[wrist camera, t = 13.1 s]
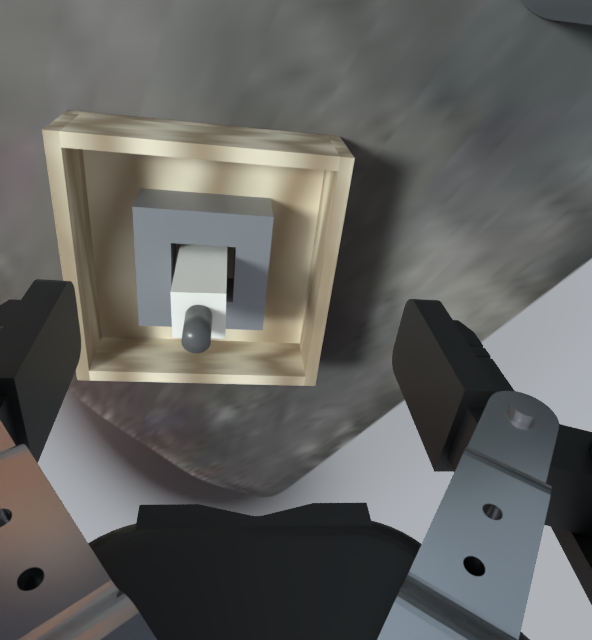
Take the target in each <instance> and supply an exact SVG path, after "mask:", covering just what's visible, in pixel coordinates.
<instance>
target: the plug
mask: <svg viewBox="0 0 592 640" xmlns="http://www.w3.org/2000/svg"><path fill="white" fill-rule="evenodd" d="M226 287H227V247H224V246H208V245H192V244H180V248H179V253H178V257H177V262H176V267H175V272H174V277H173V282H172V287H171V291H170V295H171V318H172V338H182V339H181V343H182V346H183V348H184V349H185V350H187V351H188V352H191V353H202V352H205V351H206V350H207V349H208V348H209V347H210V344H211V338H218V339H225V329H226Z"/></svg>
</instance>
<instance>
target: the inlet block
mask: <svg viewBox="0 0 592 640" xmlns="http://www.w3.org/2000/svg"><path fill="white" fill-rule="evenodd" d="M132 211H133V229H134V247H135V265H136V283H137V301H138V319H139V326H165V327H172V318H171V295H170V291H171V287H172V282H173V277H174V272H175V267H176V244H192V245H208V246H224V247H235V251H234V269H233V278H227V287H226V329H240V330H263V322H264V312H265V302H266V291H267V281H268V271H269V260H270V250H271V240H272V230H273V219H274V216H273V210H272V204H271V198H262V197H249V196H236V195H223V194H210V193H197V192H184V191H171V190H158V189H145V188H141V189H140V191H139V193H138V195H137V198H136V200H135V202H134V204H133V206H132Z"/></svg>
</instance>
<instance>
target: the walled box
mask: <svg viewBox="0 0 592 640" xmlns="http://www.w3.org/2000/svg"><path fill="white" fill-rule="evenodd" d="M42 133H43V140H44V147H45V154H46V161H47V168H48V175H49V183H50V190H51V197H52V204H53V211H54V218H55V225H56V232H57V239H58V246H59V253H60V261H61V268H62V275H63V281H71V282H72V283H73V285H74V288H75V295H76V302H77V310H78V318H79V326H80V333H81V354H80V359H79V363H78V366H77V368H76V374H77V380H93V381H135V382H176V383H217V384H259V385H300V386H315V384H316V378H317V372H318V367H319V361H320V355H321V349H322V344H323V338H324V332H325V326H326V321H327V315H328V309H329V303H330V298H331V292H332V286H333V280H334V275H335V269H336V263H337V257H338V252H339V246H340V240H341V234H342V229H343V223H344V217H345V211H346V206H347V200H348V194H349V189H350V183H351V177H352V171H353V166H354V160H355V158H354V156H353V155H352V153H351V152H350V151H349V149H348V148H347V146H346V145H345V143H344V142H343V141H342V139H341V138H340V136H330V135H320V134H309V133H299V132H289V131H278V130H268V129H258V128H247V127H237V126H227V125H216V124H206V123H196V122H185V121H175V120H165V119H154V118H144V117H134V116H123V115H113V114H103V113H92V112H82V111H72V110H67V111H66V112H65V113H63V114H62V115H61V116H59V117H58V118H57V119H56V120H54V121H53V122H52V123H50V124H49V125H48V126H46V127H45V128H44V129H42ZM141 188H145V189H158V190H171V191H184V192H197V193H210V194H223V195H236V196H249V197H262V198H271V204H272V210H273V216H274V219H273V230H272V240H271V250H270V260H269V271H268V281H267V291H266V302H265V312H264V322H263V330H240V329H225V339H218V338H211V344H210V347H209V348H208V349H207V350H206V351H205V352H202V353H191V352H188V351H187V350H185V349H184V348H183V346H182V343H181V339H182V338H172V327H165V326H139V319H138V301H137V283H136V265H135V247H134V229H133V211H132V206H133V204H134V202H135V200H136V198H137V195H138V193H139V191H140V189H141ZM179 248H180V244H176V262H177V257H178V253H179ZM234 251H235V247H227V278H233V269H234Z"/></svg>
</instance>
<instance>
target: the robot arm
mask: <svg viewBox="0 0 592 640" xmlns="http://www.w3.org/2000/svg"><path fill="white" fill-rule="evenodd" d="M522 2H523V3H524V5H525V6H526V7H527V8H528V9H529V10H531V11H532V12H533V13H534V14H535V15H538V16H540V17H542V18H545V19H548V20H556V21H564V22H572V23H580V24H586V25H592V0H522ZM80 354H81V333H80V326H79V318H78V310H77V302H76V295H75V288H74V285H73V283H72V282H71V281H59V280H40V279H37V280H35V281H34V282H33V283H32V285H31V286H30V288H29V289H28V291H27V292H26V294H25V295H24V297H23V298H22V299H21V300H8V301H7V302H5V303H3V304H2V305H0V640H530V639H528V638H527V637H526V636H525V635H524V634H523V633H522V632H521V626H522V622H523V618H524V613H525V608H526V604H527V600H528V595H529V591H530V586H531V582H532V577H533V572H534V568H535V564H536V559H537V555H538V550H539V546H540V541H541V537H542V532H543V528H544V525H548V526H551V527H552V530H553V531H554V533H555V535H556V537H557V539H558V541H559V543H560V545H561V547H562V549H563V551H564V553H565V555H566V556H567V558H568V560H569V562H570V564H571V566H572V568H573V570H574V572H575V574H576V576H577V578H578V579H579V581H580V583H581V585H582V587H583V589H584V591H585V593H586V595H587V597H588V598H589V601H590V603H591V604H592V432H589V431H584V430H580V429H576V428H572V427H568V426H564V425H560V424H559V421H558V419H557V417H556V415H555V414H554V412H553V411H552V410H551V409H550V408H549V407H548V406H546V405H545V404H544V403H542V402H541V401H539V400H538V399H536V398H534V397H532V396H530V395H527V394H524V393H520V392H516V391H514V390H513V388H512V387H511V385H510V384H509V382H508V381H507V380H506V378H505V377H504V375H503V374H502V373H501V371H500V369H499V368H498V367H497V365H496V364H495V362H494V361H493V359H490V355H489V353H488V352H487V351H486V349H485V348H483V345H482V343H481V342H480V340H479V339H478V338H477V336H476V335H475V333H474V332H473V331H471V330H470V329H469V328H467V327H466V326H465V325H464V324H462V323H461V322H460V321H458V320H452V318H451V317H450V315H449V314H448V312H447V311H446V309H445V308H444V306H443V305H442V303H441V302H440V301H438V300H419V299H409V300H408V301H407V303H406V305H405V307H404V311H403V315H402V319H401V322H400V326H399V330H398V334H397V337H396V341H395V345H394V349H393V356H392V365H393V371H394V374H395V377H396V379H397V382H398V384H399V387H400V389H401V391H402V394H403V396H404V399H405V401H406V403H407V406H408V408H409V411H410V413H411V416H412V418H413V420H414V423H415V425H416V428H417V430H418V433H419V435H420V437H421V440H422V442H423V445H424V447H425V450H426V452H427V454H428V457H429V459H430V461H431V464H432V467H433V469H434V471H454V475H453V477H452V479H451V481H450V484H449V486H448V488H447V490H446V492H445V494H444V497H443V499H442V501H441V503H440V505H439V508H438V510H437V512H436V514H435V516H434V518H433V521H432V523H431V525H430V528H429V530H428V532H427V534H426V536H425V538H424V541H423V543H422V544H421V543H419V542H418V541H416V540H415V539H413V538H412V537H410V536H408V535H406V534H404V533H403V532H401V531H399V530H396V529H394V528H392V527H390V526H387V525H384V524H381V523H378V522H374V521H371V519H370V515H369V511H368V508H367V503H312V504H308V505H304V506H301V507H296V508H293V509H288V510H284V511H280V512H276V513H272V514H268V515H264V516H250V515H245V514H240V513H236V512H231V511H227V510H222V509H217V508H213V507H208V506H203V505H199V504H194V505H192V504H191V505H190V504H187V505H140V507H139V512H138V518H137V523H136V524H133V525H129V526H125V527H122V528H120V529H117V530H114V531H111V532H110V533H107V534H105V535H103V536H101V537H99V538H97V539H95V540H93V541H92V542H90V543H88V542H87V541H86V539H85V538H84V536H83V535H82V533H81V531H80V530H79V529H78V527H77V525H76V523H75V522H74V520H73V519H72V517H71V516H70V514H69V512H68V511H67V509H66V508H65V507H64V504H63V503H62V501H61V500H60V498H59V497H58V495H57V494H56V492H55V490H54V489H53V487H52V486H51V484H50V482H49V481H48V479H47V478H46V476H45V474H44V473H43V471H42V470H41V468H40V467H39V465H38V461H39V458H40V456H41V453H42V451H43V448H44V446H45V444H46V441H47V439H48V436H49V434H50V431H51V429H52V426H53V424H54V422H55V419H56V417H57V414H58V412H59V409H60V407H61V405H62V402H63V400H64V397H65V395H66V392H67V390H68V388H69V385H70V383H71V380H72V378H73V375H74V373H75V371H76V368H77V366H78V363H79V359H80Z"/></svg>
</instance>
